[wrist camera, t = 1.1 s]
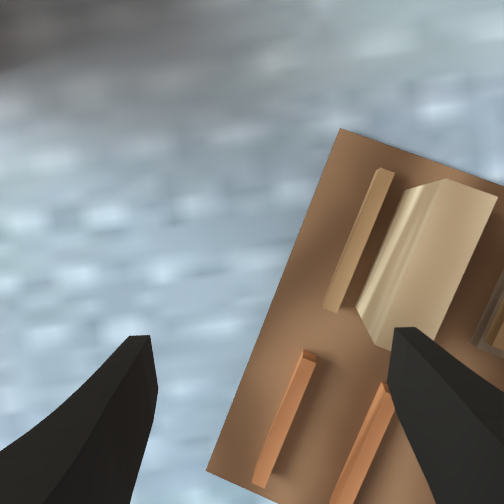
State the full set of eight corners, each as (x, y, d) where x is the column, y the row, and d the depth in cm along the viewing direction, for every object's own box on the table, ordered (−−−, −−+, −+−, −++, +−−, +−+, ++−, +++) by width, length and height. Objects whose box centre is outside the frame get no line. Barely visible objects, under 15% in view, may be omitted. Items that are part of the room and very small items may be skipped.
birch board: (438, 203, 24) (497, 196, 16) (388, 319, 24) (423, 364, 17) (403, 190, 24) (446, 178, 16) (355, 306, 25) (374, 344, 17)
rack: (614, 231, 24) (653, 232, 21) (450, 567, 26) (466, 607, 24) (338, 132, 25) (342, 122, 22) (210, 459, 28) (199, 485, 25)
